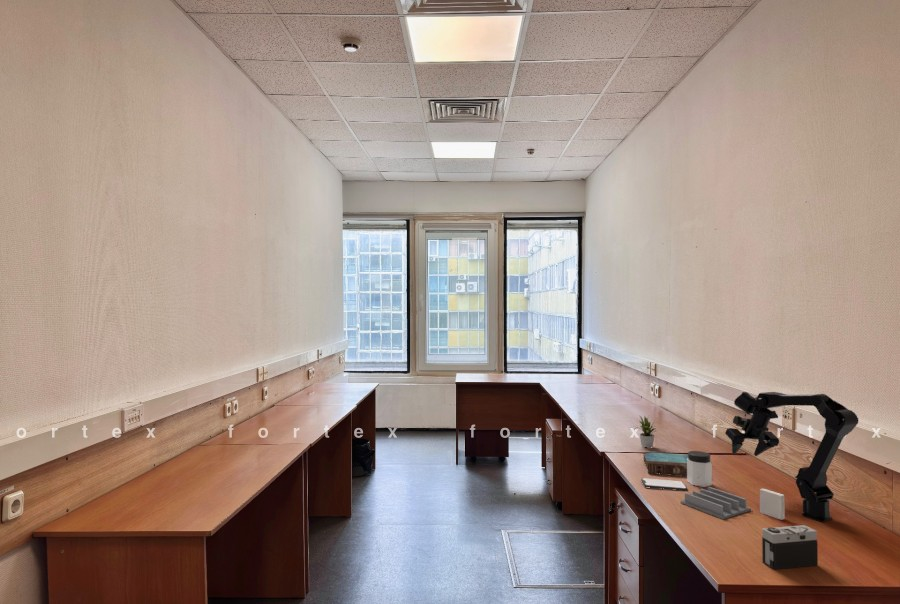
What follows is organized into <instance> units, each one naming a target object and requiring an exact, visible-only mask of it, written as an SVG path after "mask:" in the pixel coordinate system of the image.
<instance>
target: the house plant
mask: <svg viewBox="0 0 900 604" xmlns="http://www.w3.org/2000/svg"><path fill="white" fill-rule="evenodd" d="M639 417H640V420H641V421H640V420H639V419H637V418H634V417H632V416H631V418H634V420H636V421H638V423H639V424H640V425H639V427H637V426H635V425H634V427H635V428H634V430H637V429H638V430H642V431H641V433H639V438H640V439H639V440H640V445H641V447H642V446H643V447H647V448H646V449H652V448H651V447H654V440H655V434H653V433H654V432H657V431H658V432H659V430H657V428H656V426H655V425H654V424H657V422H658V421H656V420H654V421H653V422H652V424H651V421H649V416H648V417H646V415H644V417H642V416H641V415H639ZM643 418H644V419H643ZM643 447H642V448H643Z"/></svg>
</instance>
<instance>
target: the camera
mask: <svg viewBox="0 0 900 604" xmlns="http://www.w3.org/2000/svg"><path fill="white" fill-rule="evenodd" d="M761 533H762V534H761V535H762V536H761V537H762V544H761V545H762V551H761V552H762V555H761V556H762V557H761V558H762V559H761V560H762V564H764V565H765V566H767V567H768V568H770V569H771V570H780V569H781V570H782V569H792V568H802V567H815V566H818V563H819V560H818V559H819V558H818V557H819V556H818V549H819V548H818V531H817V530H816V529H814V528H812V527H809V526H807V525H801V524H800V525H789V526H777V527H772V526H771V527H763V528H762V530H761Z"/></svg>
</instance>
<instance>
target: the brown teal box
mask: <svg viewBox="0 0 900 604" xmlns="http://www.w3.org/2000/svg"><path fill="white" fill-rule="evenodd" d="M642 455H643V463H644V462H645V463H644V465H645V464H646V465H645V468H646V467H647V468H646V469H648V470H647V474H648V473H658V474H657V475H661V474H671V475H670V476H675V475H682V476H681V477H687V458H688V454H682V453H681V454H680V453H667V452H666V453H664V452H653V451H652V452H650V451H642ZM659 473H660V474H659Z"/></svg>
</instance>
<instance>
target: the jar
mask: <svg viewBox="0 0 900 604" xmlns="http://www.w3.org/2000/svg"><path fill="white" fill-rule="evenodd" d="M687 455H688V458H687V476H686V482H687V481H688V483H689V484H690V485H692V486H694V485H695V487H701V488H706V487H707V488H708V487H711V486H713V478H712V477H713V476H712V475H713V473H712V472H713V470H712V467H713V466H712V465H713V463H712V461H711V454H710V453H708V452H705V451H701V450H700V451H699V450H690V451H688V452H687Z"/></svg>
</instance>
